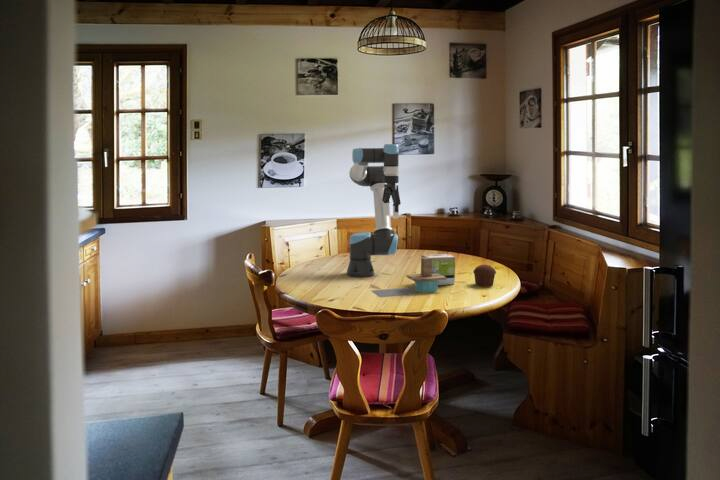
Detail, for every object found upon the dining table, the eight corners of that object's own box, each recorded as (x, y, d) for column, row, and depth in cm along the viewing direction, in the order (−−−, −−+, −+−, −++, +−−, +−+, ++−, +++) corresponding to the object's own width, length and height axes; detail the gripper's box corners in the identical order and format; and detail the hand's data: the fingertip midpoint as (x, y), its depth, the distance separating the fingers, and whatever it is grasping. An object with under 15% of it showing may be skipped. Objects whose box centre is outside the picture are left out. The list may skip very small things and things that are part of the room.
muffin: (468, 284, 309) (468, 265, 308) (482, 281, 316) (482, 262, 315) (486, 288, 300) (486, 268, 299) (500, 284, 307) (501, 265, 305)
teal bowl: (411, 288, 301) (411, 276, 300) (432, 287, 304) (432, 275, 303) (420, 293, 290) (420, 281, 289) (441, 291, 293) (441, 279, 292)
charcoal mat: (370, 291, 296) (370, 290, 296) (408, 288, 302) (408, 287, 302) (379, 298, 283) (379, 297, 283) (419, 294, 288) (419, 293, 288)
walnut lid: (406, 277, 299) (406, 257, 298) (436, 274, 304) (436, 255, 302) (415, 282, 288) (415, 261, 287) (446, 279, 293) (446, 259, 291)
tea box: (427, 286, 305) (428, 257, 303) (420, 282, 314) (420, 254, 312) (455, 284, 309) (455, 256, 307) (447, 280, 318) (447, 253, 316)
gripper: (376, 174, 314) (376, 214, 317) (392, 176, 290) (392, 220, 293) (389, 173, 316) (389, 214, 319) (407, 176, 292) (407, 219, 296)
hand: (391, 217), depth 306 cm, fingers open, 13 cm apart
